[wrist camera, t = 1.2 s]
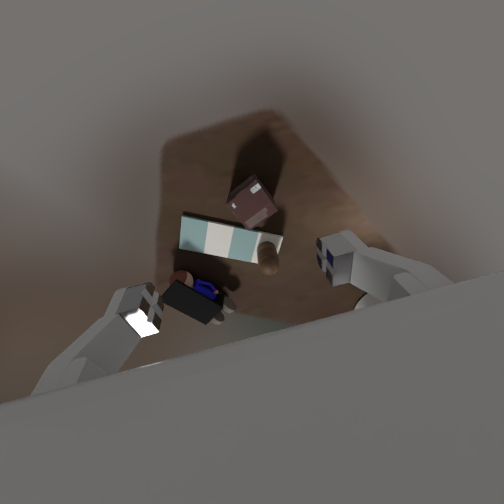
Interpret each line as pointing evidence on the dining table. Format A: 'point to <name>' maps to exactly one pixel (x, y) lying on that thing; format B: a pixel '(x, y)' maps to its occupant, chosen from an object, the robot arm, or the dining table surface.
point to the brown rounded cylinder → (267, 258)
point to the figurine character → (196, 298)
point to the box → (251, 202)
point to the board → (223, 239)
